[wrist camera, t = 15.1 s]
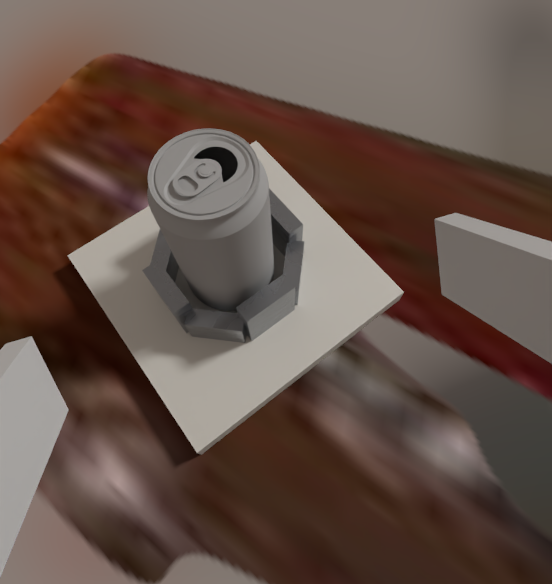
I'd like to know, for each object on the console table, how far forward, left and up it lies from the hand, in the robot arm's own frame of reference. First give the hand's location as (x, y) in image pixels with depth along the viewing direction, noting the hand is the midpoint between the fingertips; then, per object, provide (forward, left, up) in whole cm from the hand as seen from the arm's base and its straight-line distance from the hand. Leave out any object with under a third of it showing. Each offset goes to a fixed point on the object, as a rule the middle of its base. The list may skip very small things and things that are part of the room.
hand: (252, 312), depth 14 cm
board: (-3, -9, -18) cm, 21 cm away
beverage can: (-3, -9, -17) cm, 19 cm away
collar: (-3, -9, -16) cm, 19 cm away
